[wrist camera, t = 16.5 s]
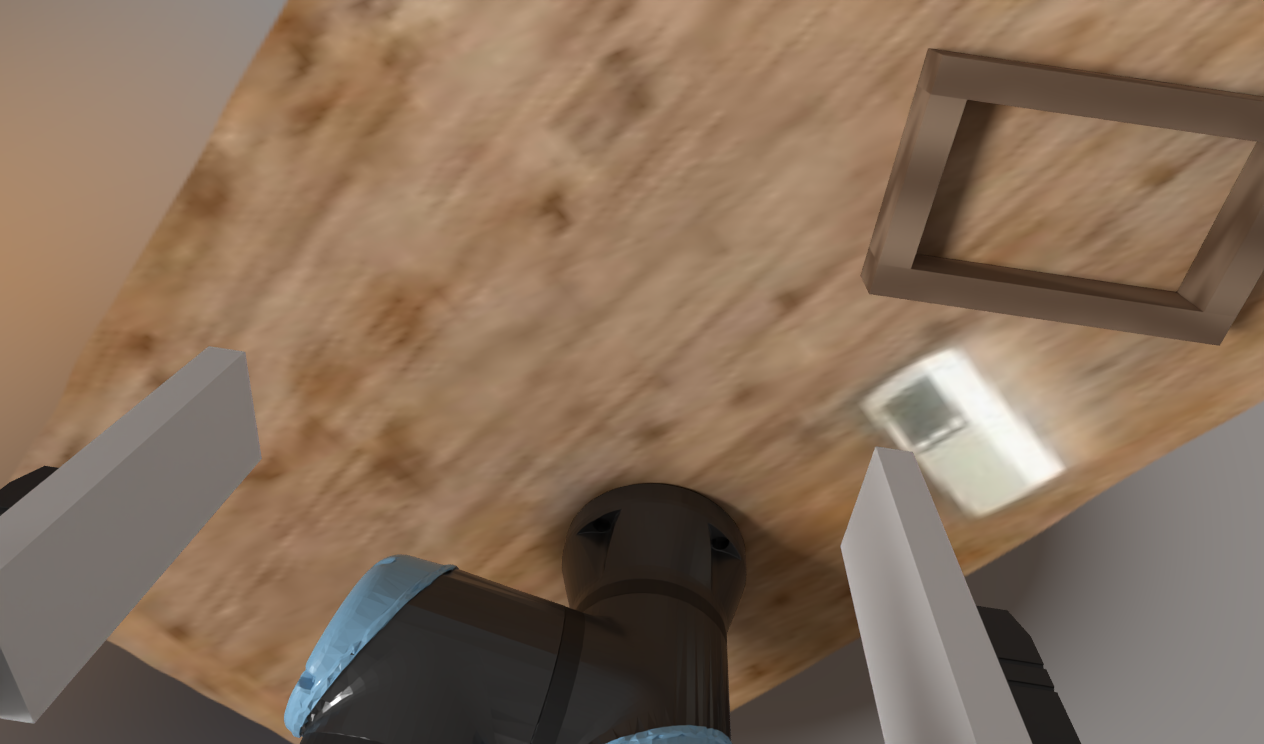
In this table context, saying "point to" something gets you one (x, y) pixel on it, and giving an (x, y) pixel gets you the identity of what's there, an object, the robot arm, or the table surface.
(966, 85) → the block
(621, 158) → the table surface
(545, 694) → the robot arm
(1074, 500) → the table surface
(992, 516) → the table surface
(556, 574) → the table surface
